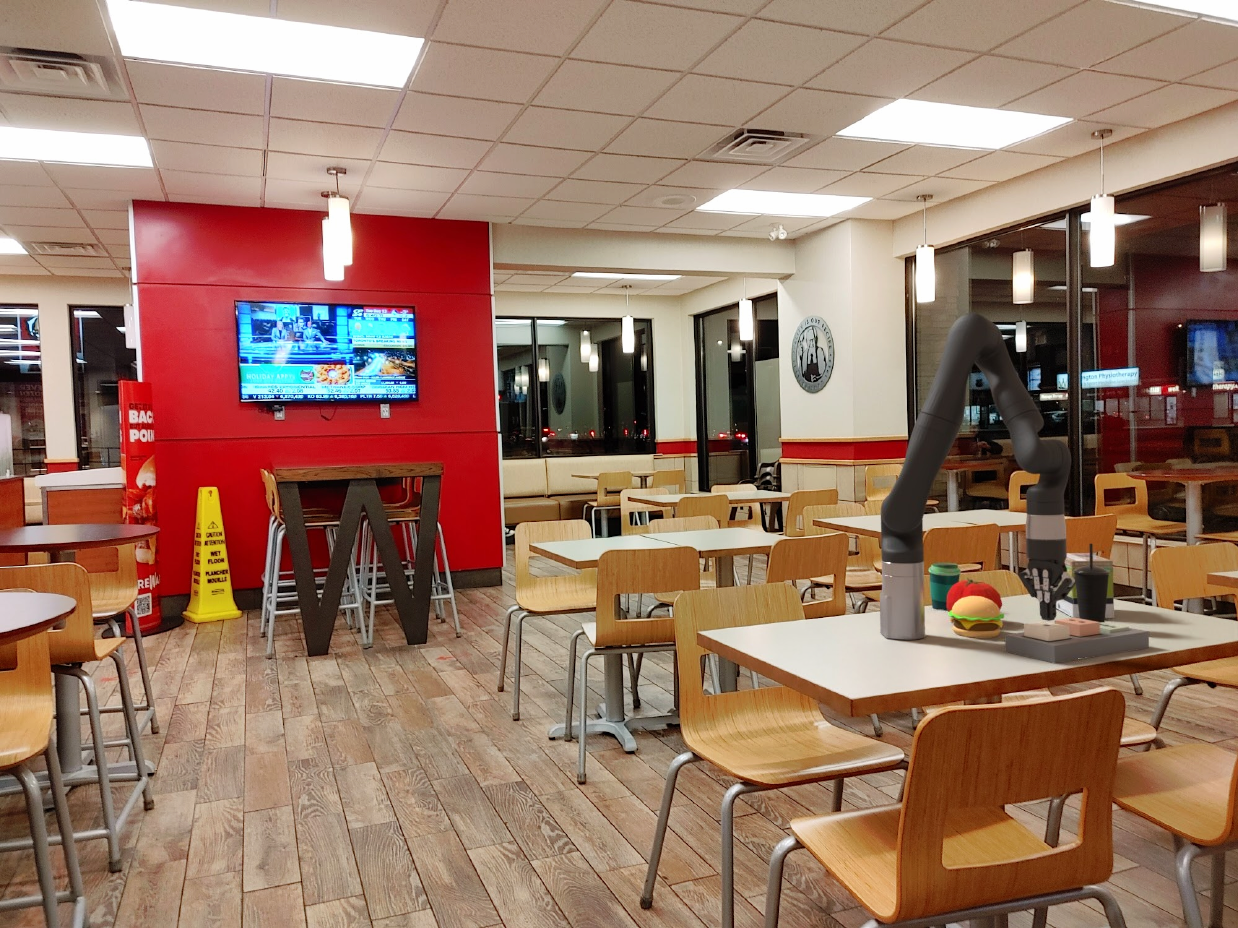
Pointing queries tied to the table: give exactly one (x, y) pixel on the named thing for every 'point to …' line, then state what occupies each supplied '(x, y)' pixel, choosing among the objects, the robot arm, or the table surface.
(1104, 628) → the sage tile
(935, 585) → the cup
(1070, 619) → the terracotta tile
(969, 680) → the table surface
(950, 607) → the tomato
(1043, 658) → the console
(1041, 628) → the cream tile
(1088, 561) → the tea box
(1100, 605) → the drinking cup
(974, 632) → the hamburger
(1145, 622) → the table surface
